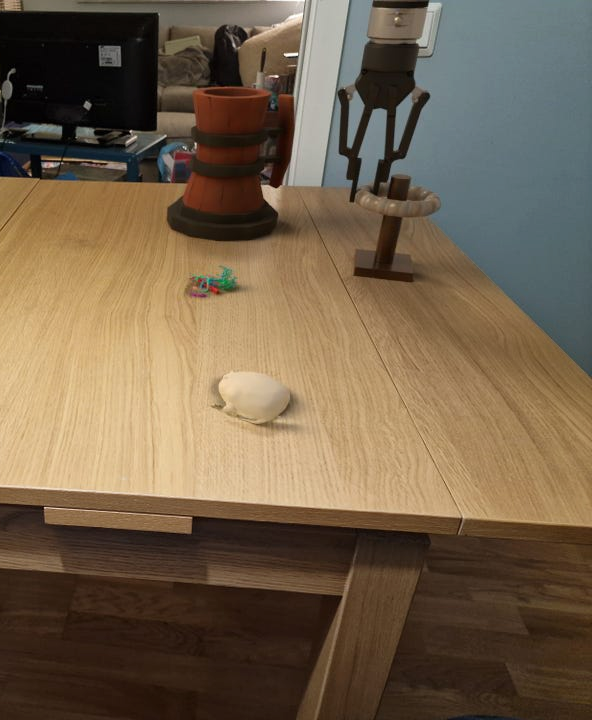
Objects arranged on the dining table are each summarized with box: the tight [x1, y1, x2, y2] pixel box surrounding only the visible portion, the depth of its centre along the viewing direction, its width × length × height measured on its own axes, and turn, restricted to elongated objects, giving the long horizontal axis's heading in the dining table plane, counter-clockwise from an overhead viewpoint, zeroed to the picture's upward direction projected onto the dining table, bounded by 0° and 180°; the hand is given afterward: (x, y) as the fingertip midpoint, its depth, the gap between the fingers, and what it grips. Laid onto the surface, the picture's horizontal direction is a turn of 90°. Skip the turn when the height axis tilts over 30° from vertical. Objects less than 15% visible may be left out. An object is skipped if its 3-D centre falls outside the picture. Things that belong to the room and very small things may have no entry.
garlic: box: [210, 370, 291, 425], centre depth 75 cm, size 8×7×4 cm
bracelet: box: [354, 181, 442, 219], centre depth 106 cm, size 13×13×2 cm
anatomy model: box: [185, 265, 238, 298], centre depth 101 cm, size 5×8×7 cm
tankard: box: [166, 86, 296, 242], centre depth 128 cm, size 22×25×25 cm
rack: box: [352, 173, 415, 283], centre depth 108 cm, size 9×9×16 cm
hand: (362, 200), depth 108 cm, fingers closed on bracelet, 3 cm apart
